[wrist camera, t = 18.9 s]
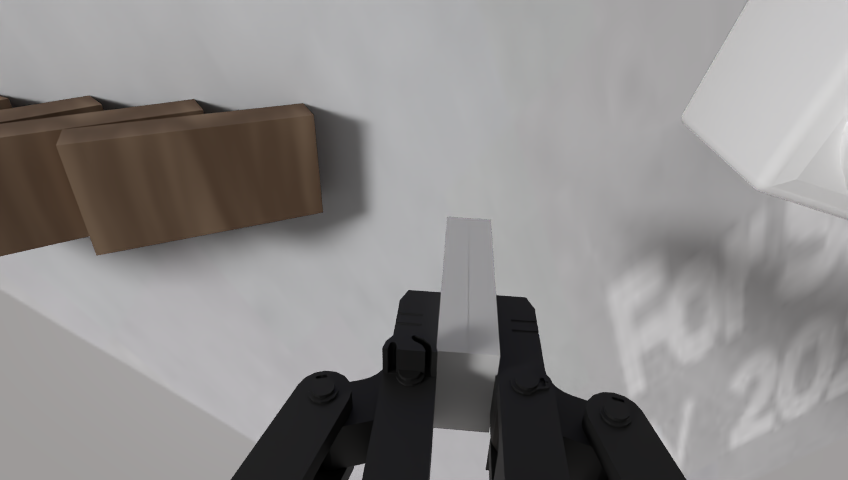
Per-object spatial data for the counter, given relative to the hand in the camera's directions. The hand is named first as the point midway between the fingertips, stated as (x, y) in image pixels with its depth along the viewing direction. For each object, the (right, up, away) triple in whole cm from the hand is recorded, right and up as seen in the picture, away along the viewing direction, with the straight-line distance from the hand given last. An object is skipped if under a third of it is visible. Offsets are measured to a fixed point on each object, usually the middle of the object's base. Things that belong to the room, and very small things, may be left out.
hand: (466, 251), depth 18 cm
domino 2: (-7, +4, +7) cm, 11 cm away
